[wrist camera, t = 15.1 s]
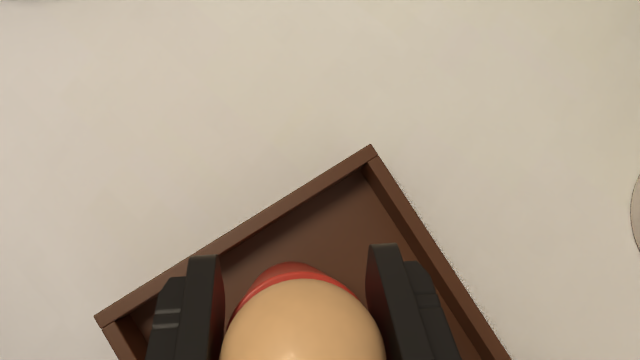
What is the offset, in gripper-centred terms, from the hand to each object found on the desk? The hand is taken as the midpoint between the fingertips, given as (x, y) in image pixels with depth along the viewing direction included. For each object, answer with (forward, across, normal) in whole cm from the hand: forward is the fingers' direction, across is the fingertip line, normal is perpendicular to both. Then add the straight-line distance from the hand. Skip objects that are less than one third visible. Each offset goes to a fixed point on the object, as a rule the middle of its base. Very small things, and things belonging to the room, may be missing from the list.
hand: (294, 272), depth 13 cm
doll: (+5, 0, +7) cm, 9 cm away
